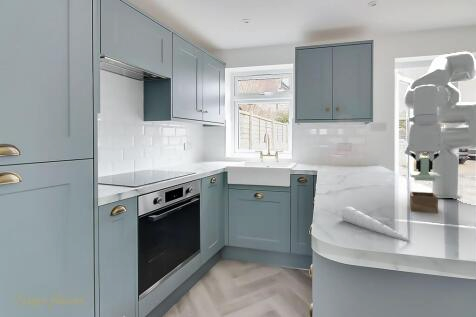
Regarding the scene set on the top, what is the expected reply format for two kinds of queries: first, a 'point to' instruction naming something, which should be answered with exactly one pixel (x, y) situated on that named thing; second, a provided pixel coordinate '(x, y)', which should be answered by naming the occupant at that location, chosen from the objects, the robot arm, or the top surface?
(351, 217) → the unicorn horn
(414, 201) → the box
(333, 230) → the top surface
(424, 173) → the mint green stepped block
